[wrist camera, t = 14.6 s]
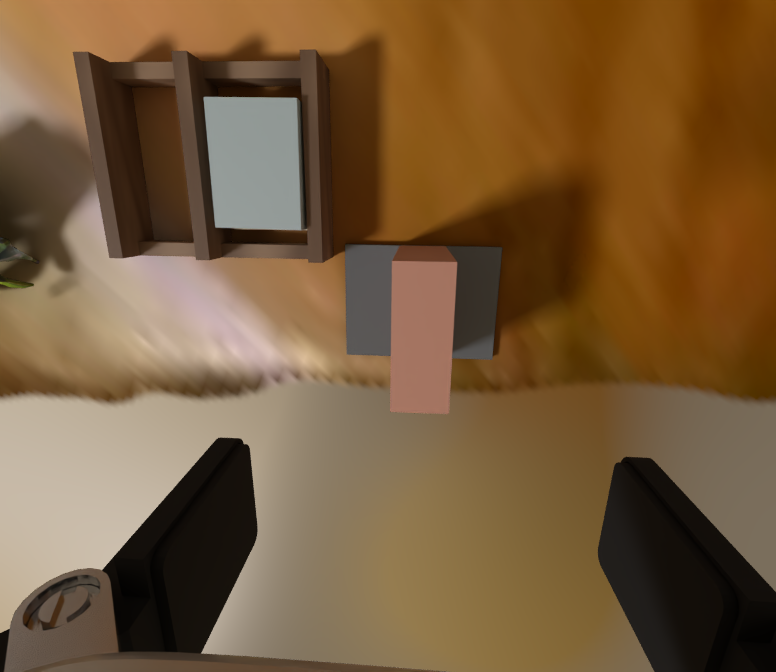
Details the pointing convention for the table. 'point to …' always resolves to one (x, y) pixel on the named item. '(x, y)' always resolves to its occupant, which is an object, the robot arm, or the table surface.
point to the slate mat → (374, 297)
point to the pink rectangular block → (422, 328)
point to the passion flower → (6, 252)
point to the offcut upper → (256, 162)
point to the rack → (197, 150)
